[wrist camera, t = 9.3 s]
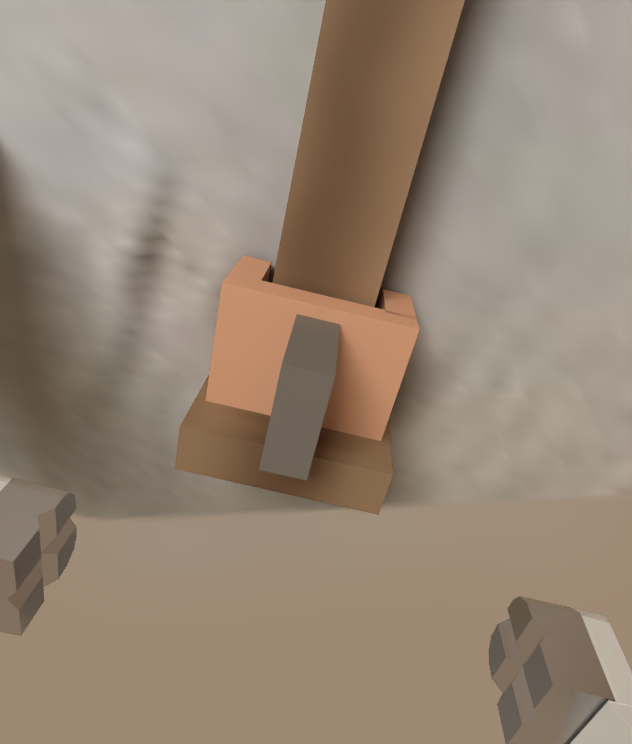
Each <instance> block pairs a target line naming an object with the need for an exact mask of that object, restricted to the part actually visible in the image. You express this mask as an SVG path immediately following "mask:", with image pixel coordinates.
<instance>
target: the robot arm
mask: <svg viewBox="0 0 632 744" xmlns="http://www.w3.org/2000/svg"><path fill="white" fill-rule="evenodd" d="M75 509H76V501H75V495H74V494H72V493H70V492H66V491H62V490H58V489H54V488H50V487H46V486H43V485H39V484H35V483H31V482H27V481H23V480H19V479H14V478H10V477H6V476H2V475H0V632H4V633H9V634H15V635H19V636H21V635H22V634H23V632H24V631H25V629H26V628H27V626H28V624H29V623H30V622H31V620H32V619H33V617H34V616H35V614H36V613H37V611H38V609H39V608H40V606H41V605H42V603H43V602H44V590H43V587H45V586H47V585H48V584H50V583H52V582H54V581H56V580H57V579H59V577H60V576H61V574H62V572H63V571H64V569H65V568H66V566H67V564H68V562H69V559H70V557H71V554H72V552H73V550H74V546H75V541H76V526H75V524H74V523H73V522H72V520H71V519H70V516H71V515H72V514H73V512H74V511H75ZM508 612H509V615H510V619H508V620H506V621H504V622H501V623H499V624H498V625H497V627H496V629H495V631H494V633H493V634H492V636H491V642H490V648H489V665H490V670H491V675H492V679H493V680H494V682H495V683H496V684H497V685H498V687H499V688H500V690H501V691H502V692H503V695H502V697H501V698H500V700H499V702H498V710H499V714H500V719H501V724H502V729H503V733H504V738H505V743H506V744H632V672H631V670H630V667H629V665H628V663H627V661H626V658H625V657H624V654H623V652H622V650H621V648H620V645H619V643H618V641H617V639H616V637H615V634H614V632H613V630H612V628H611V626H610V624H609V622H608V621H607V619H606V618H604V616H603V615H600V614H596V613H591V612H587V611H582V610H578V609H572V608H570V607H566V606H562V605H557V604H552V603H548V602H543V601H539V600H534V599H530V598H525V597H518V598H516V599H514V600H513V601H512V603H511V604H510V606H509V607H508Z"/></svg>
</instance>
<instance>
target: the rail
mask: <svg viewBox="0 0 632 744" xmlns="http://www.w3.org/2000/svg"><path fill="white" fill-rule="evenodd" d="M464 2H465V0H326V3H325V8H324V14H323V19H322V24H321V30H320V35H319V40H318V45H317V51H316V56H315V61H314V66H313V72H312V77H311V82H310V88H309V93H308V98H307V103H306V109H305V114H304V119H303V124H302V130H301V135H300V140H299V145H298V151H297V156H296V161H295V167H294V172H293V177H292V182H291V188H290V193H289V198H288V203H287V209H286V214H285V219H284V225H283V230H282V235H281V240H280V246H279V251H278V256H277V261H276V267H275V272H274V277H273V283H275V284H279V285H283V286H287V287H291V288H296V289H300V290H304V291H308V292H312V293H316V294H321V295H325V296H329V297H333V298H337V299H341V300H346V301H350V302H354V303H358V304H362V305H367V306H371V307H375V304H376V300H377V297H378V293H379V290H380V287H381V283H382V280H383V276H384V273H385V270H386V266H387V263H388V259H389V256H390V253H391V249H392V246H393V242H394V239H395V236H396V232H397V229H398V225H399V222H400V219H401V215H402V212H403V209H404V205H405V202H406V198H407V195H408V192H409V188H410V185H411V181H412V178H413V175H414V171H415V168H416V164H417V161H418V158H419V154H420V151H421V147H422V144H423V141H424V137H425V134H426V130H427V127H428V124H429V120H430V117H431V113H432V110H433V107H434V103H435V100H436V97H437V93H438V90H439V86H440V83H441V80H442V76H443V73H444V69H445V66H446V63H447V59H448V56H449V52H450V49H451V46H452V42H453V39H454V35H455V32H456V29H457V25H458V22H459V18H460V15H461V12H462V8H463V5H464ZM208 380H209V376H208V377H207V379H206V381H205V383H204V384H203V386H202V388H201V390H200V392H199V393H198V395H197V397H196V399H195V401H194V402H193V404H192V406H191V408H190V409H189V411H188V413H187V415H186V417H185V418H184V420H183V422H182V424H181V426H180V431H179V440H178V448H177V457H176V465H175V469H178V470H183V471H187V472H192V473H196V474H200V475H205V476H209V477H214V478H218V479H223V480H227V481H232V482H236V483H240V484H245V485H249V486H254V487H258V488H263V489H267V490H272V491H276V492H280V493H285V494H289V495H294V496H298V497H303V498H307V499H312V500H316V501H320V502H325V503H329V504H334V505H338V506H343V507H347V508H352V509H356V510H360V511H365V512H369V513H374V514H379V512H380V509H381V507H382V504H383V501H384V499H385V496H386V493H387V491H388V488H389V485H390V483H391V480H392V477H393V465H392V454H391V442H390V431H389V420H388V422H387V425H386V428H385V431H384V434H383V437H382V440H381V441H378V440H374V439H370V438H365V437H361V436H357V435H352V434H348V433H344V432H339V431H335V430H331V429H326V428H322V427H321V430H320V434H319V438H318V441H317V445H316V449H315V452H314V456H313V459H312V463H311V467H310V470H309V474H308V478H307V481H306V480H302V479H298V478H293V477H289V476H284V475H280V474H275V473H271V472H267V471H262V470H259V467H260V462H261V458H262V453H263V449H264V444H265V439H266V435H267V430H268V425H269V421H270V415H265V414H261V413H257V412H252V411H248V410H244V409H239V408H235V407H231V406H226V405H222V404H218V403H213V402H209V401H206V394H207V387H208Z"/></svg>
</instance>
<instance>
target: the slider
mask: <svg viewBox="0 0 632 744" xmlns="http://www.w3.org/2000/svg"><path fill="white" fill-rule="evenodd" d="M270 267H271V262H268V261H264V260H260V259H256V258H252V257H248V256H244V255H243V256H242V258H241V259H240V260H239V262H238V263H237V264H236V265H235V267H234V268H233V269H232V271H231V272H230V273H229V275H228V276H227V277H226V278H225V280H224V281H223V282H222V288H221V295H220V302H219V309H218V316H217V323H216V330H215V337H214V344H213V351H212V358H211V365H210V373H209V380H208V387H207V394H206V401H209V402H213V403H218V404H222V405H226V406H231V407H235V408H239V409H244V410H248V411H252V412H257V413H261V414H265V415H270V421H269V425H268V430H267V435H266V439H265V444H264V449H263V453H262V458H261V462H260V467H259V470H262V471H267V472H271V473H275V474H280V475H284V476H289V477H293V478H298V479H302V480H306V481H307V478H308V474H309V470H310V467H311V463H312V459H313V456H314V452H315V449H316V445H317V441H318V438H319V434H320V430H321V427H322V428H326V429H331V430H335V431H339V432H344V433H348V434H352V435H357V436H361V437H365V438H370V439H374V440H378V441H381V440H382V437H383V434H384V431H385V428H386V425H387V422H388V419H389V416H390V414H391V411H392V408H393V405H394V402H395V399H396V396H397V393H398V391H399V388H400V385H401V382H402V379H403V376H404V373H405V370H406V367H407V365H408V362H409V359H410V356H411V353H412V350H413V347H414V344H415V342H416V339H417V336H418V333H419V330H420V329H419V326H418V322H417V318H416V314H415V311H414V307H413V303H412V299H411V296H410V295H406V294H401V293H397V292H393V291H389V290H385V289H383V291H382V294H381V297H380V301H379V304H378V307H377V308H375V307H371V306H367V305H362V304H358V303H354V302H350V301H346V300H341V299H337V298H333V297H329V296H325V295H321V294H316V293H312V292H308V291H304V290H300V289H296V288H291V287H287V286H283V285H279V284H275V283H270V282H268V278H269V273H270Z"/></svg>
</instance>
